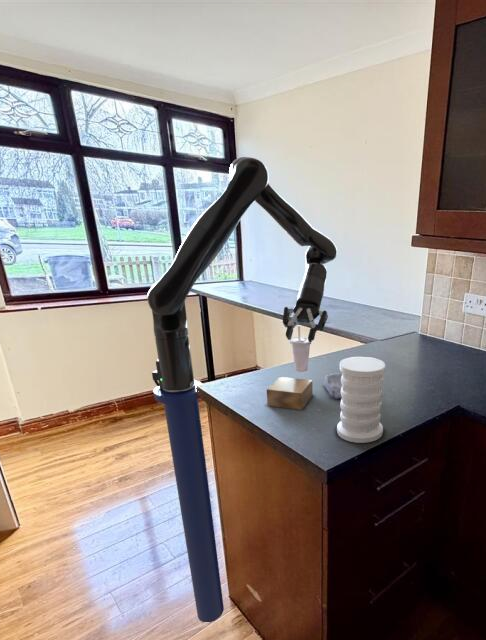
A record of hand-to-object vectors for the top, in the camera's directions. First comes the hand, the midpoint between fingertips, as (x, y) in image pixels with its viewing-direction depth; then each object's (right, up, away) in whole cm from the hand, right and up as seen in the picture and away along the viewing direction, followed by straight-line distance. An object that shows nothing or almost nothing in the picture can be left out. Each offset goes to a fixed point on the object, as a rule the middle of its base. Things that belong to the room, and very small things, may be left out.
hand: (299, 339), depth 122 cm
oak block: (-2, -18, -5) cm, 19 cm away
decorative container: (+19, -26, -20) cm, 38 cm away
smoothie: (0, -9, +6) cm, 11 cm away
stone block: (+13, -16, +3) cm, 21 cm away
